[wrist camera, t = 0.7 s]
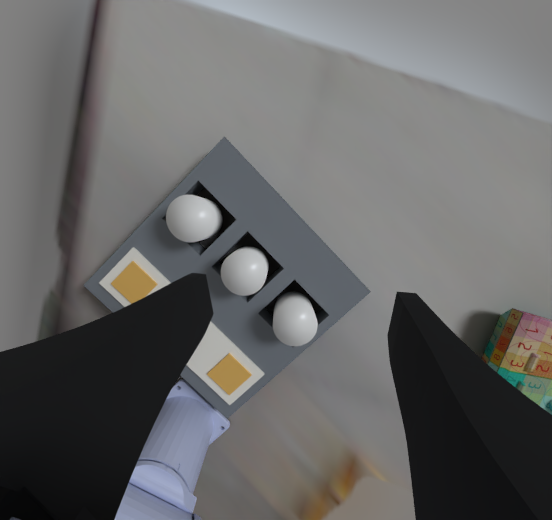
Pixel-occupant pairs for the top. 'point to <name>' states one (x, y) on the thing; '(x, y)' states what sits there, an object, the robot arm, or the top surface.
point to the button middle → (245, 270)
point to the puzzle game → (523, 354)
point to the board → (226, 305)
